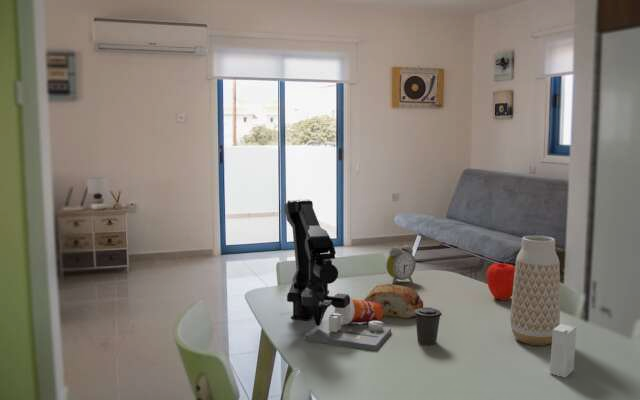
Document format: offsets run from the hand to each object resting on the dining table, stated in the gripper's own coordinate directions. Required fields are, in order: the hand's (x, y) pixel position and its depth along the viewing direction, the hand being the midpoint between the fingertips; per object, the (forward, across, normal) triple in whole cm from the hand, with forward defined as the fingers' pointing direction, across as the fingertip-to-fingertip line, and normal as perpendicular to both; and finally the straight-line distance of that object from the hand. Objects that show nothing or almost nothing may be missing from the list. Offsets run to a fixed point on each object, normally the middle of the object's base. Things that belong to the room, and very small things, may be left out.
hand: (318, 325), depth 188 cm
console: (+2, +9, +1) cm, 10 cm away
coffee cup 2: (+3, +32, +5) cm, 33 cm away
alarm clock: (+3, +7, +69) cm, 69 cm away
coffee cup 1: (0, +13, +18) cm, 23 cm away
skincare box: (+3, +69, -4) cm, 70 cm away
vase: (+3, +61, +19) cm, 64 cm away
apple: (+3, +48, +60) cm, 77 cm away
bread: (+3, +15, +32) cm, 35 cm away
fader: (+1, +5, 0) cm, 5 cm away
